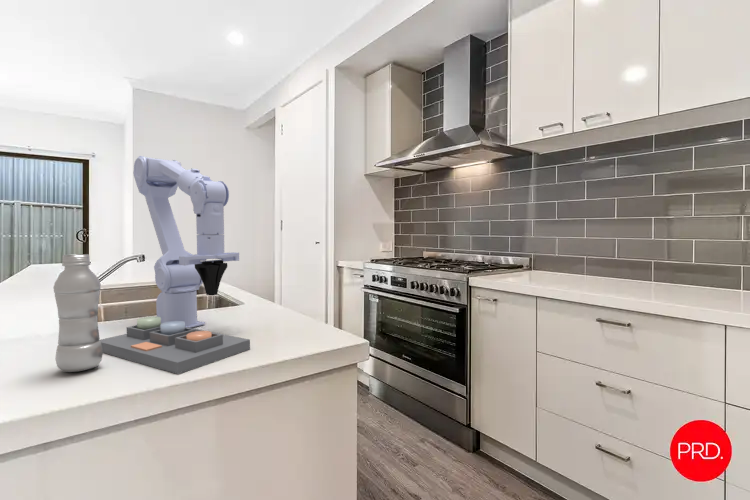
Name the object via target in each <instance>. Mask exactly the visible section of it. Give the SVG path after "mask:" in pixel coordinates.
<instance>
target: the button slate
mask: <svg viewBox="0 0 750 500" xmlns="http://www.w3.org/2000/svg"><path fill="white" fill-rule="evenodd" d="M160 328H161V334H165V335H173V334H177V333H181V332H185V322H184V321H170V322H165V323H162V324H160Z"/></svg>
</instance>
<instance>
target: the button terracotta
mask: <svg viewBox="0 0 750 500" xmlns="http://www.w3.org/2000/svg"><path fill="white" fill-rule="evenodd" d="M211 332H212V331H210V330H203V331H195V332H191V333H188V334H187V335H186V337H187V339H188V340H192V341H199V340H203V339H206V338H210V337H212V333H211Z"/></svg>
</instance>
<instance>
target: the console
mask: <svg viewBox="0 0 750 500" xmlns="http://www.w3.org/2000/svg"><path fill="white" fill-rule="evenodd" d="M161 324H162V323H161ZM195 331H204V330H203V329H199V328H194V327H192V328H188V327H185V332H181V333H177V334H173V335H165V334H161V328H160V327H156V328H152V329H147V330H142V329H137V324H136V325H135V324H134V325H130V326H126V333H124V334H119V335H115V336H112V337H106V338H102V339H99V340H100V341H101V344H102V350H103V354H107V355H110V356H114V357H118V358H119V359H124V360H126V361H127V360H128V361H131V362H133V363H138V364H141V365H145V366H148V367H151V368H154V369H158V370H161V371H165V372H168V373H173V374H175V375H181V374H183V373H185V372H188V371H191V370H194V369H198V368H200V367H203V366H207V365H208V364H211V363H214V362H218V361H219V360H223V359H226V358H229V357H231V356H235V355H237V354H241V353H243V352H247V351H250V350H251V339H249V338H244V337H238V336H234V335H229V334H228V335H227V334H223V333H217V332H212V331H210V332H211V333H212V337H210V338H206V339H203V340H199V341H192V340H188V339H187V337H186V335H187V334H188V333H191V332H195Z"/></svg>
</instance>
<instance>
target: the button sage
mask: <svg viewBox="0 0 750 500" xmlns="http://www.w3.org/2000/svg"><path fill="white" fill-rule="evenodd" d="M160 324H161V317H157V316H145V317H140V318H137V319H136V325H137V329H142V330H147V329H152V328H156V327H160Z"/></svg>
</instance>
